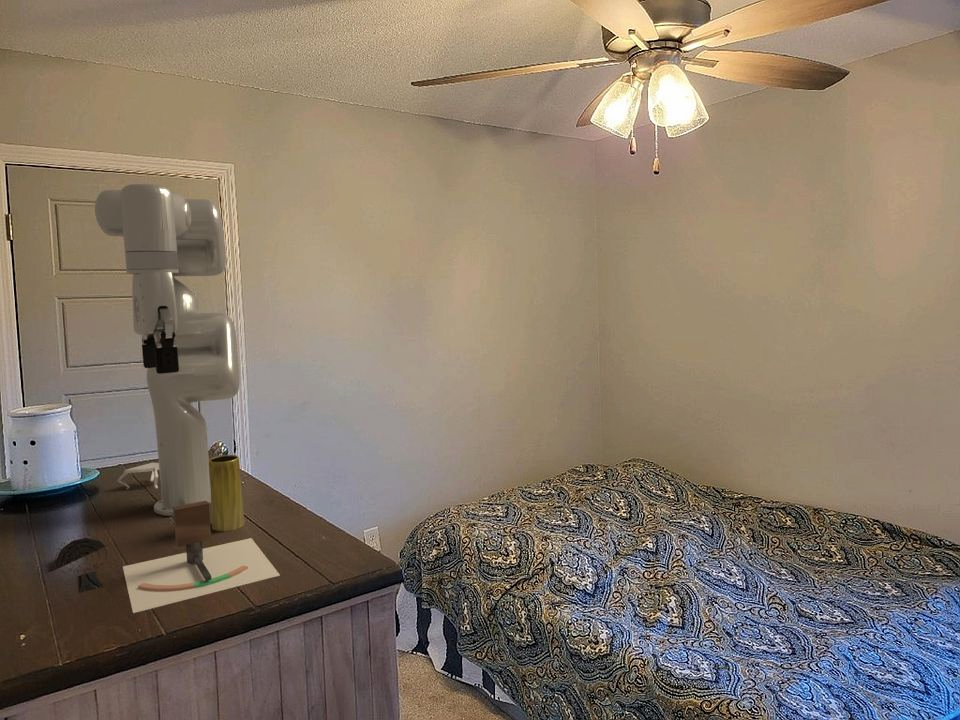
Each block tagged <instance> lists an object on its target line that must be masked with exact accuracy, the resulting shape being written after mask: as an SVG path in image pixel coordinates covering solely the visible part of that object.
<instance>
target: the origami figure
mask: <svg viewBox="0 0 960 720" xmlns="http://www.w3.org/2000/svg"><path fill="white" fill-rule="evenodd" d="M158 471H159V462H150V463H146V464H143V465H142V464H141V465H138V466H135V467H131V468H126V469H124V471H123V473H122V474H121V475H120V477H118V479H117V480H116V481H117V482H118V483H119V484H121V485H123V486H125V487H126V488H125V490H129V489H131V486H130V485H129V484H127V483H125V482H124V481H122V479H124V478H125V477H126V476H127V475H128V474H129V473H130V474H131V473H132V474H133V473H134V474H135V473H146V472H147V473H148V472H151V475H150V477H149V478H150V480H149V482H152V483H153V486H154V489H159V487H158V481H159V474H158Z"/></svg>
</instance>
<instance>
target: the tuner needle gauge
mask: <svg viewBox="0 0 960 720" xmlns="http://www.w3.org/2000/svg"><path fill="white" fill-rule="evenodd" d="M173 514H174V515H173V524H174V525H173V526H174V534H175V535H174V537H175V538H174V539H175V545H176V546H177V547H182V546H185V553H186V554H187V562H188V563H195V564H196V565H197V567H198V569H199V570H200V572H201V574H202V575H203V577H204V579H205V580H206V581H208V580H212V579H211V574H210V573H209V571H208V570H207V568H206V567H205V565H204V563H203V562H202V560H203V549H204V548H203V542H206V541H209V540H212V529H211V528H212V526H211V516H210V503H208V502H207V501H201V502H196V503H191V504H185V505H180V506H175V507H173Z"/></svg>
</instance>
